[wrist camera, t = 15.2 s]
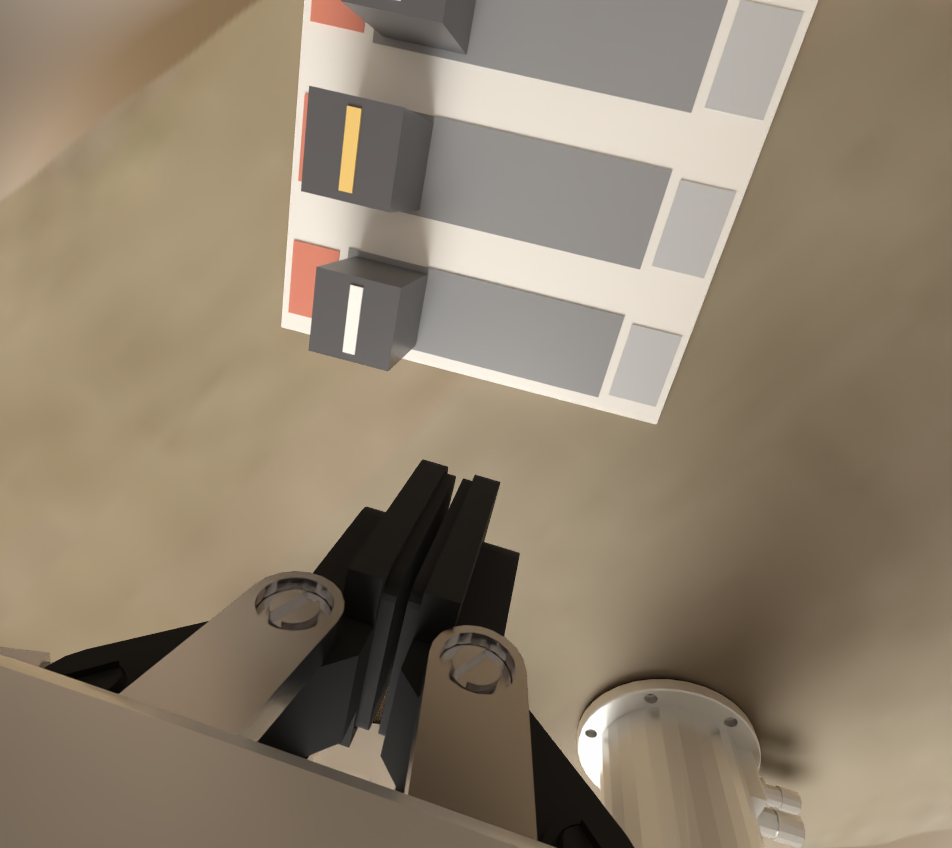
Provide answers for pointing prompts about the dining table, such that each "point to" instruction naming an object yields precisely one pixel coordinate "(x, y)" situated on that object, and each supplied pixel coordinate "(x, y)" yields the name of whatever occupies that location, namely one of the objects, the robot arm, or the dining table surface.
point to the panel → (539, 185)
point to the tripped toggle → (364, 151)
